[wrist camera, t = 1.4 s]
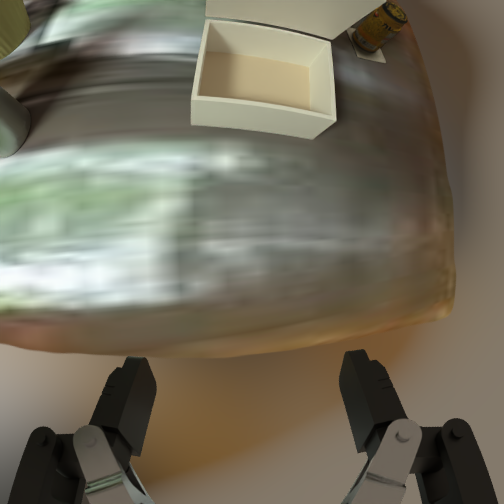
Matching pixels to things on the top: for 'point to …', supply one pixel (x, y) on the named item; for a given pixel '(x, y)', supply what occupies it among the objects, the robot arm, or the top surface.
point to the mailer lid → (296, 13)
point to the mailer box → (263, 80)
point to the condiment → (377, 31)
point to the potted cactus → (12, 25)
